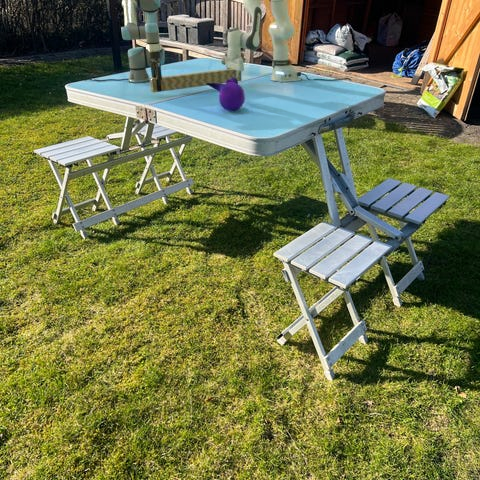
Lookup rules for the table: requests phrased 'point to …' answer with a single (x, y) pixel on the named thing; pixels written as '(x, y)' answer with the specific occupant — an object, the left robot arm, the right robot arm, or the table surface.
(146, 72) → the left robot arm
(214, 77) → the bar
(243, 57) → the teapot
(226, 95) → the toy
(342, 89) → the table surface
